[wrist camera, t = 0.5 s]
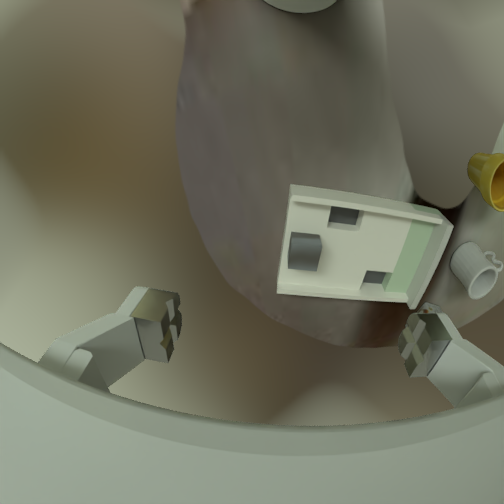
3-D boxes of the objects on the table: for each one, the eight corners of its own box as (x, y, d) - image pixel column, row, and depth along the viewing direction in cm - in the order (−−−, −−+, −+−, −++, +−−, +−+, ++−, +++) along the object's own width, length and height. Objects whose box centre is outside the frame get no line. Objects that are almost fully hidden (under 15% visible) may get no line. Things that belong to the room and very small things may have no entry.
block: (291, 231, 47) (292, 243, 44) (319, 234, 47) (322, 246, 44) (287, 255, 50) (287, 268, 47) (314, 258, 50) (316, 271, 47)
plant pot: (496, 146, 35) (526, 161, 27) (490, 192, 40) (516, 213, 32) (463, 140, 36) (494, 154, 28) (457, 190, 42) (484, 212, 34)
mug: (449, 277, 53) (466, 305, 45) (448, 248, 49) (469, 276, 41) (486, 259, 49) (505, 284, 41) (487, 230, 45) (510, 254, 37)
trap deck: (290, 184, 46) (292, 199, 40) (436, 209, 45) (453, 226, 39) (277, 277, 57) (276, 300, 51) (405, 287, 56) (415, 309, 50)
